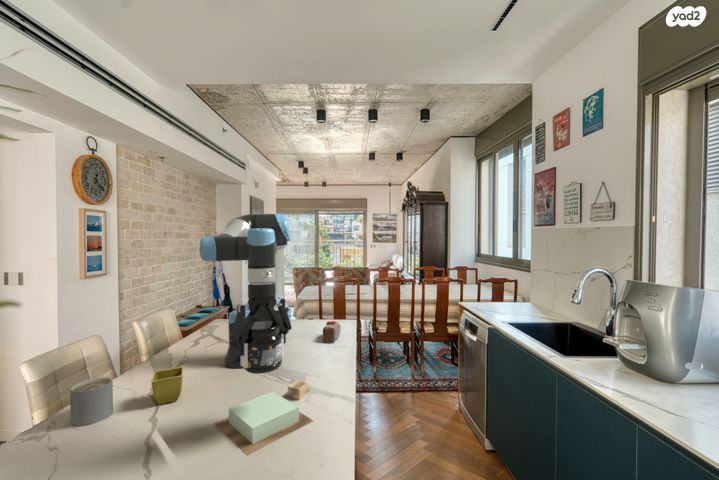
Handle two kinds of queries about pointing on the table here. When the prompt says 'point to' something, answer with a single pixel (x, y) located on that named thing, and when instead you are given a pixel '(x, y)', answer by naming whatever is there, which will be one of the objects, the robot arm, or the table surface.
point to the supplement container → (264, 347)
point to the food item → (331, 332)
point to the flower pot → (167, 385)
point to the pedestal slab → (263, 416)
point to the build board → (250, 448)
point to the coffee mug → (91, 401)
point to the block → (298, 390)
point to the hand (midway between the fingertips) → (263, 360)
